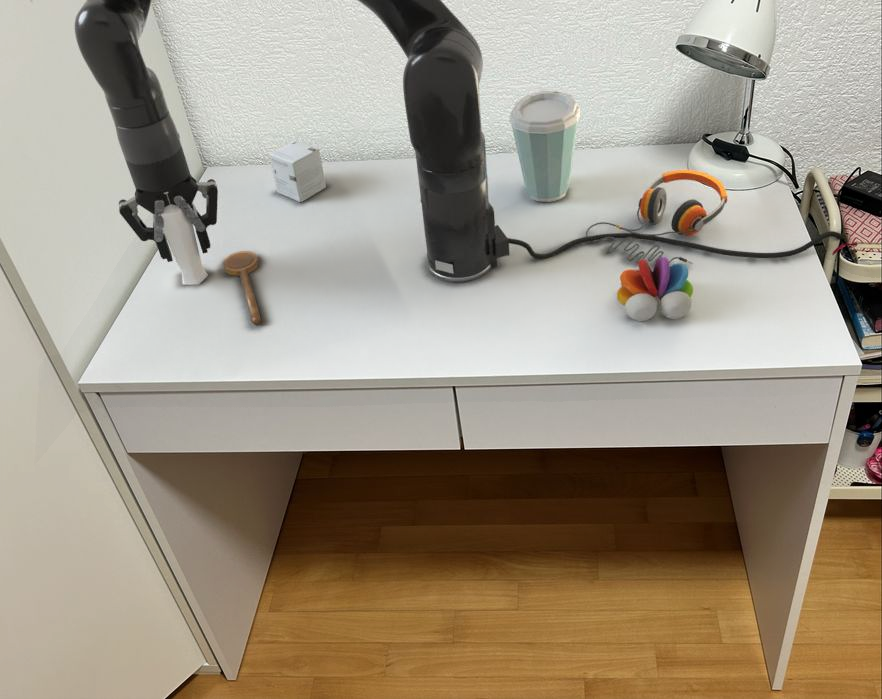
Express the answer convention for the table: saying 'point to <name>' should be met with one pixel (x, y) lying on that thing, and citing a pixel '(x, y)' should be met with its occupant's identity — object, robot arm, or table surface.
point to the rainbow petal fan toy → (655, 290)
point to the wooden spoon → (244, 277)
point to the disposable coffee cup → (545, 142)
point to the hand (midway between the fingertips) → (187, 254)
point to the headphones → (684, 219)
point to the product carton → (297, 170)
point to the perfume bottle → (183, 244)
